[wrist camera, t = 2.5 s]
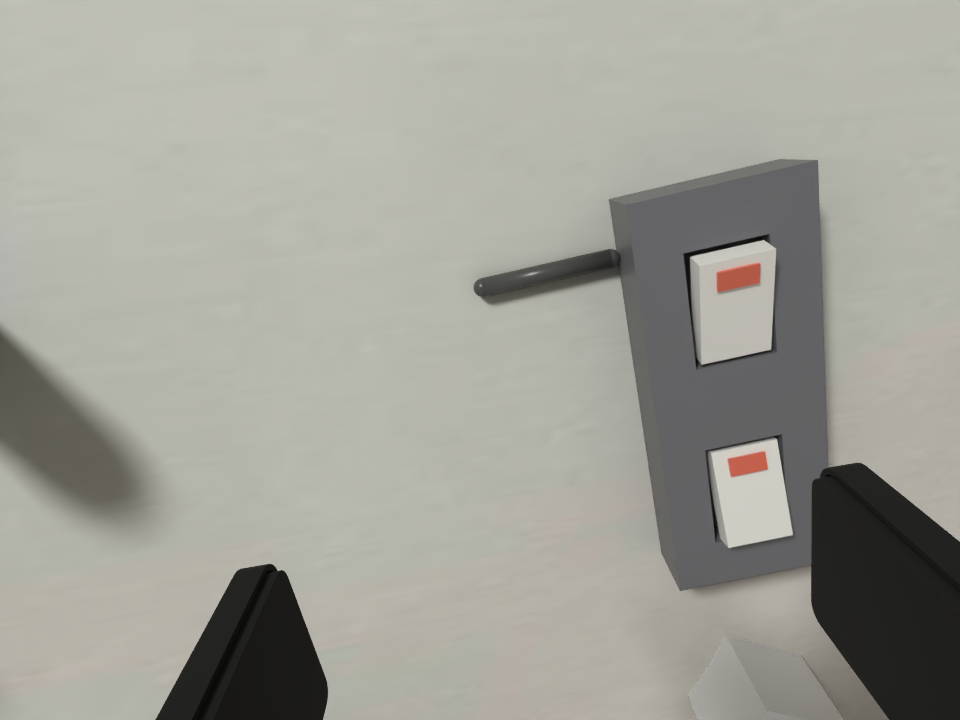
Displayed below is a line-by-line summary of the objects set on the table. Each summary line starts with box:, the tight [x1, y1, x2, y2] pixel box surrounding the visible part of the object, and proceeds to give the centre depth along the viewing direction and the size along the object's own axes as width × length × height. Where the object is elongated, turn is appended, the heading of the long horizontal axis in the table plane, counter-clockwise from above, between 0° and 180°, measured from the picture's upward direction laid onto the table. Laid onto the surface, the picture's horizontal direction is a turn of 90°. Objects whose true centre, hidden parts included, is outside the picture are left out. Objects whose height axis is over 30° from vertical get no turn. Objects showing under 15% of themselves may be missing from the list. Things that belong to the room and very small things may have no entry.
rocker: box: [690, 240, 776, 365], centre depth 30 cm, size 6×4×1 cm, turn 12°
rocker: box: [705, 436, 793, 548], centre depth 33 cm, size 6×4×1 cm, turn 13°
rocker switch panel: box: [474, 159, 828, 591], centre depth 33 cm, size 23×17×4 cm
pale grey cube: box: [688, 635, 843, 720], centre depth 40 cm, size 6×6×6 cm
